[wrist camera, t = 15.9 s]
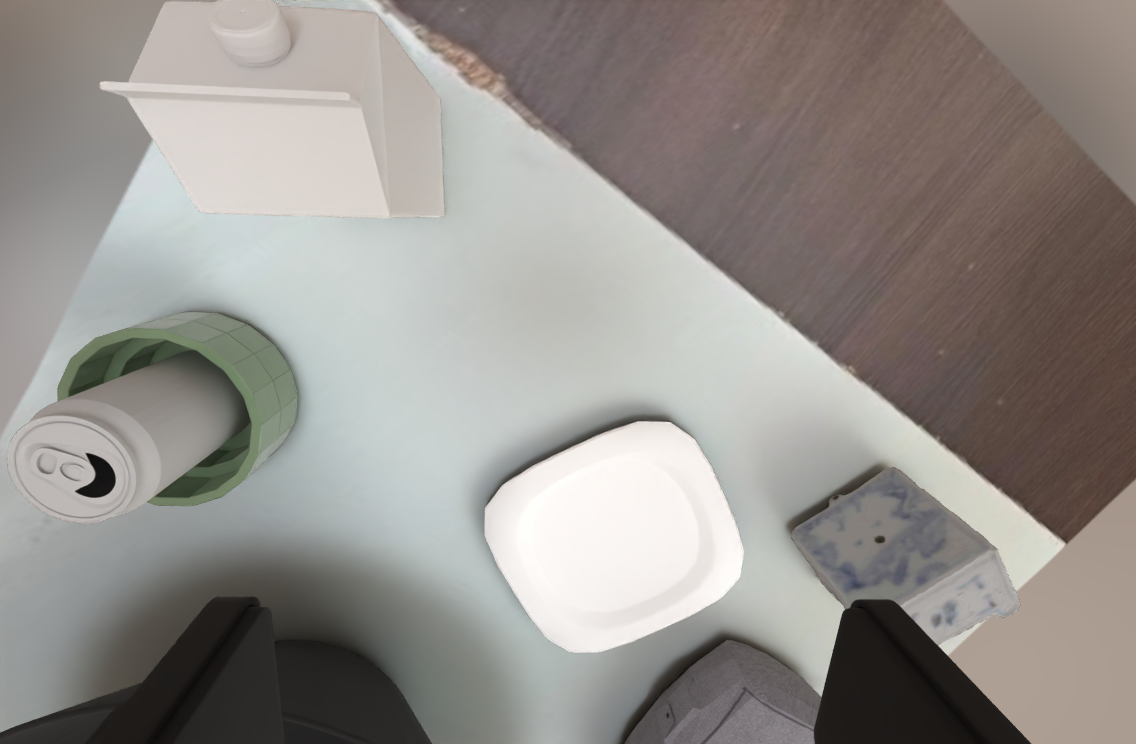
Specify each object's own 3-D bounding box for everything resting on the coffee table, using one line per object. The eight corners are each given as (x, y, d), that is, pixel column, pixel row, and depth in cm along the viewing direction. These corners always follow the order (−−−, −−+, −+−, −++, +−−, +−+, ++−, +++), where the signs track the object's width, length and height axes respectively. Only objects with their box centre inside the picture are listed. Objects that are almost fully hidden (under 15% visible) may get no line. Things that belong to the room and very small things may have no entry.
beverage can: (245, 448, 38) (125, 549, 27) (151, 414, 37) (-17, 503, 26) (273, 370, 37) (159, 440, 25) (176, 331, 36) (10, 387, 24)
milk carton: (445, 217, 35) (359, 219, 17) (333, 214, 35) (123, 212, 17) (441, 98, 33) (339, -42, 15) (323, 92, 33) (70, -60, 15)
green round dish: (116, 306, 35) (36, 323, 30) (295, 314, 36) (252, 333, 31) (142, 461, 39) (75, 504, 33) (307, 465, 40) (270, 507, 34)
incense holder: (826, 590, 46) (908, 694, 36) (779, 524, 44) (853, 615, 34) (926, 527, 45) (1040, 616, 35) (884, 456, 43) (992, 529, 33)
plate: (561, 658, 46) (563, 675, 44) (459, 491, 41) (456, 502, 39) (755, 572, 45) (764, 586, 43) (675, 389, 40) (682, 396, 38)
